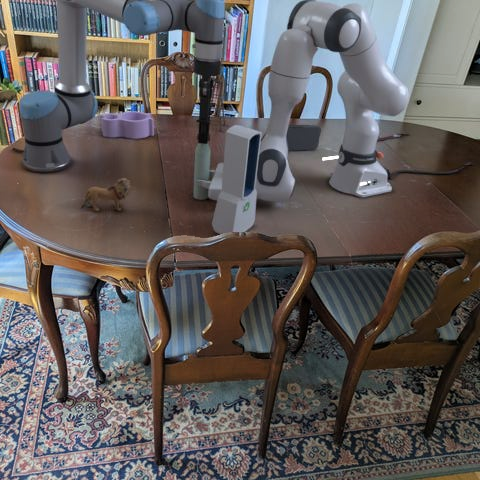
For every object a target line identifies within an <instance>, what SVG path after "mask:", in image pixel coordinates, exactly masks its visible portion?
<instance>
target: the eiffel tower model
mask: <svg viewBox="0 0 480 480" xmlns="http://www.w3.org/2000/svg"><path fill="white" fill-rule="evenodd" d="M220 61H221V73H220V75H218V76H215V77H213V78H212V79H213V80H214V85H213V92H212V97H211V106H210V108H211V110H210V112H212V110H217V111H218V113H219V114H218V115H216V114H212V116H211V115H208V116H210V117H216V118H219V119H218V120H219V121H218V120H212V119H210V122H213V123H219V132H221V131H222V123H223V126H226V116H225V109H224V100H223V94H222V84H221V83H223V82H225V79H223V78H222V75H223V69H224V57H222V58H221V60H220ZM216 89H217V91H218V93H215V92H216ZM215 96H216V97H215ZM214 99H217V100H218V104H216V103H213V102H214ZM213 106H216V107H217V106H218V108H216V107H213ZM221 111H222V113H221Z"/></svg>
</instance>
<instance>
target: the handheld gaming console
mask: <svg viewBox="0 0 480 480" xmlns="http://www.w3.org/2000/svg"><path fill="white" fill-rule="evenodd" d="M321 133H322V127H321V126H319V125H318V124H292V125H291V124H289V125H288V130H287V141H288V146H289V152H292V151H294V152H295V151H312V150H317V148H318V147H319V144H320V137H321Z"/></svg>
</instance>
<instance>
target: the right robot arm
mask: <svg viewBox="0 0 480 480" xmlns="http://www.w3.org/2000/svg"><path fill="white" fill-rule="evenodd" d="M286 24H287V25H286V30H284V31H283V32H282V33H281V34H280V36H279V38H278V41H277V43H276V46H275V49H274V52H273V55H272V58H271V59H272V60H271V64H270V68H269V73H268V74H269V75H268V82H267V83H268V85H267V93H268V97H269V99H270V104H271V105H270V106H271V107H270V113H269V118H268V123H267V128H266V131H265V133H264V134H263V136H261V143H260V151H259V160H258V168H257V176H256V184H255V190H256V191H257V196H256V199H258V200H261V201H262V202H263V201H265V202H273V203H284V202H288V201H289V200H290V199H291V198H292V195H293V193H294V191H295V187H296V179H295V178H294V176H293V173H292V171H291V168H290V165H289V161H288V159H289V157H288V156H289V152H290V151H289V146H288V141H287V130H288V125H290V121H291V118H292V117H291V116H292V112H293V110H294V108H295V107H296V106H297V105H298V104H299V103H301V102H302V100H303V98H304V96H305V94H306V92H307V88H308V85H309V82H310V79H311V78H310V77H311V74H312V73H311V72H312V66H313V61H314V58H315V54H316V53H317V52H318V50H319V49H322V50H328V51H330V52H333V53H338V54H339V56H340V57H339V58H340V60H341V62H342V65H343V68H344V71H343V72H342V73H341V74H340V76H339V78H338V81H337V83H336V84H337V85H336V88H337V89H336V90H337V93H338V95H339V96H340V98H341V100H342V103H343V104H342V105H343V107H344V113H345V128H344V129H345V130H344V134H343V138H342V143H341V144H340V146H339V147H340V148H339V151H338V155H334V156H327V157H322V161H328V160H335V159H337V163H336V165H335V168H334V170H333V173H332V175H331V177H330V178H329V181H328V183H329V185H330V186H331V187H332V188H333V189H335V190H336V191H338V192H342V193H344V194H348V195H353V196H355V197H358V198H368V197H371V196H372V197H373V196H376V195H377V196H378V195H381V194H386V193H391V192H392V190H393V187H392V185H391V183H390V182H388V179H389V180H392V179H393V178H394V177H395V176H396V175H397V174H399V173H401V174H402V173H409V174H424V175H425V174H426V175H451V174H455V173H458V172H459V171H461V170H463V169H464V168H466V167H467V166H465V167H462V168H460V169H459V170H458V168H456V169H453V170H450V171H427V170H412V169H411V170H410V169H399V170H398V169H397V170H396V171H394V172H393V173H391V171H390V169H389V168H387V167H385V166H384V165H382V164H380V163H379V161H378V160H382V159H383V158H384V157H385V156H384V154H383V153H382V152H381V151H377V150H376V146H377V142H378V141H377V139H379V135H380V126H379V124H378V123H377V121H376V120H375V117H374V113H375V114H377V115H381V116H387V117H396V116H398V115H400V114H401V113H403V111H404V110H405V109H406V108H407V105H408V103H409V101H410V92H409V88H408V87H407V86H406V85H405V84H403V82H401V81H400V80H399V79H398V77H396V75H395V74H394V72H393V71H392V69H391V68H390V67H389V65H388V63H387V61H386V60H385V59H384V57H383V54H382V52H381V48H380V45H379V42H378V38H377V34H376V30H375V28H374V25H373V23H372V20H371V18H370V15H369V14H368V11H367V10H366V9H365V7H364V6H363V5H361V4H359V3H348V4H346V5H343V6H340V5H337V4H335V3H331V2H325V1H317V0H300V1H298V2H297V3H296V4H295V5H294V7H293V8H292V10H291V11H290V14H289V16H288V21H287V23H286ZM377 159H378V160H377ZM471 163H472V162H470V161H469V162H467V163H465V164H464V165H468V166H471V167H474V163H473V164H471ZM469 164H470V165H469ZM223 166H224V162H219V163H217V165H216V168H215V169H210V170H209V178H212V179H211V180H209V181H205V180H203V179H200V178H198V179H197V185H199V186H203V187H205V188H207V189H208V199H210V200H212V201H216V202H217V200H218V197H219V195H220V193H221V191H222V178H223Z"/></svg>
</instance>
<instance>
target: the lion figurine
mask: <svg viewBox="0 0 480 480" xmlns="http://www.w3.org/2000/svg"><path fill="white" fill-rule="evenodd" d="M131 186H132V185H131V180H129V179H128V178H126V177H122V178H119V179H118V180H117V182H115V183H114V184H113V185H111V186H110V187H108V188H103V187H98V186H92V187H90V188H88V189H87V190H86V193H85V195H84V200H83V201H84V202H83V203H82V205H81V206H80V209H84V207H85V206H86V207H92V208H93V209H94V211H95V212H100V208H99V207H97V202H98V199H101V200H102V201H107V202H108V201H113V206H114V207H115V209H116V211H118V212H120V211H121V210H122V208H121V207H120V201H122V200H125V199H126V198H127V196H128V195H129V194H130V192H131V188H132V187H131ZM90 202H92V203H90Z"/></svg>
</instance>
